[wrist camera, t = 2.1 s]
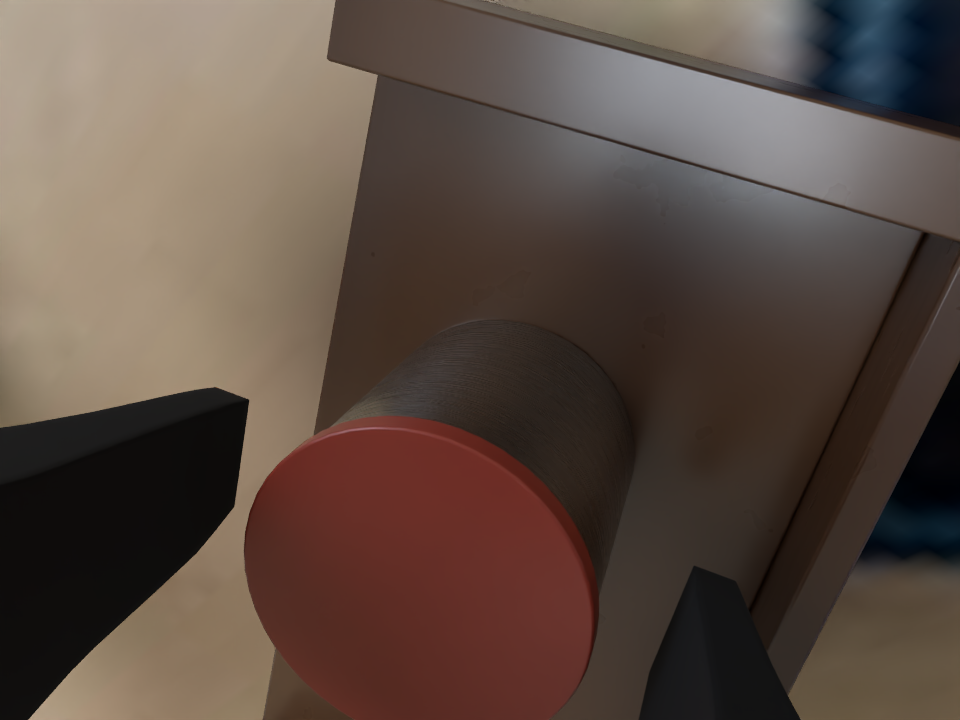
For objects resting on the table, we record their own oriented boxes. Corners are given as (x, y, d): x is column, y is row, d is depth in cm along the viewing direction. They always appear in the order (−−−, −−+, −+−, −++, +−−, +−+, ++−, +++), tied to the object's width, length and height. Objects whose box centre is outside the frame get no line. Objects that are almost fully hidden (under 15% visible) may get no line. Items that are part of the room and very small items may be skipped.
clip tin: (678, 367, 14) (646, 511, 10) (595, 596, 16) (537, 804, 12) (408, 277, 15) (267, 372, 11) (360, 504, 17) (224, 665, 13)
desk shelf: (967, 128, 15) (1063, 164, 10) (640, 837, 22) (612, 1040, 18) (451, -8, 16) (338, -29, 12) (308, 691, 24) (205, 843, 19)
